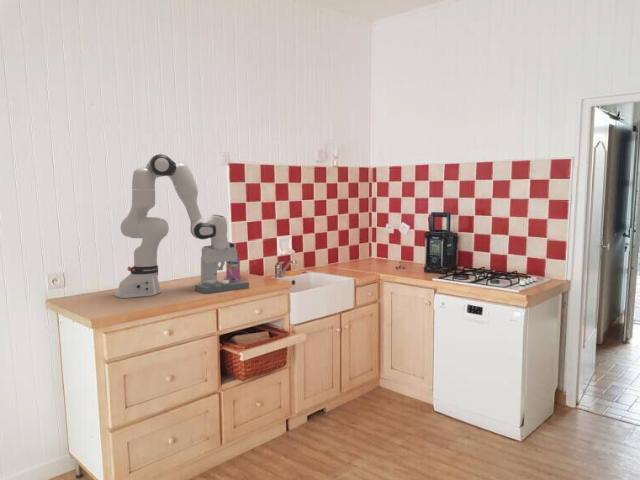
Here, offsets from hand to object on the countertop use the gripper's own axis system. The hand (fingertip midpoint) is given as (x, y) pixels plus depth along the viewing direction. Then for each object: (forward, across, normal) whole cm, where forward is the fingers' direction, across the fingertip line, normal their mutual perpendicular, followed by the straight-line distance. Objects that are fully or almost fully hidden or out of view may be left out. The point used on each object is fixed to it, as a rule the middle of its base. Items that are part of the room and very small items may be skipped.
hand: (219, 270), depth 267 cm
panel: (+10, -1, -4) cm, 11 cm away
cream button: (+6, -1, -7) cm, 10 cm away
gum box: (+10, +22, +22) cm, 33 cm away
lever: (+6, +8, 0) cm, 10 cm away
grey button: (+5, -9, -7) cm, 13 cm away
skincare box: (+10, +4, +20) cm, 23 cm away
